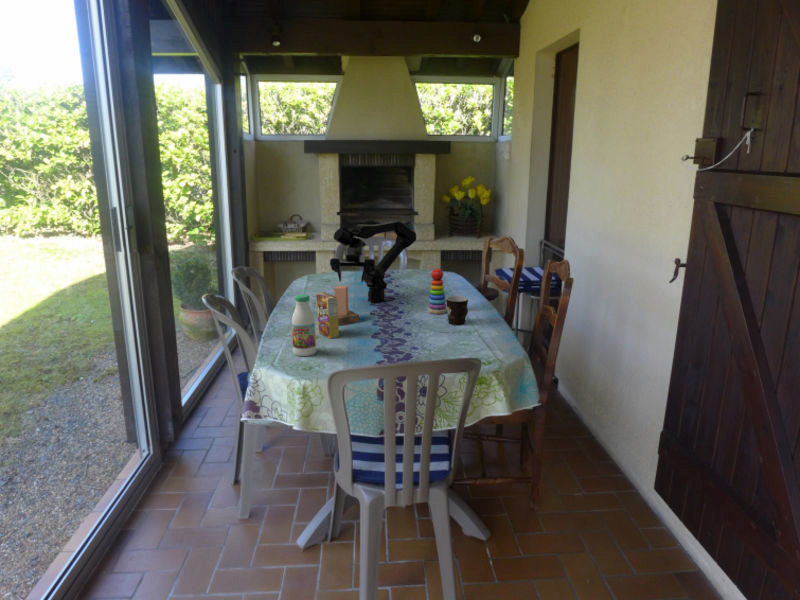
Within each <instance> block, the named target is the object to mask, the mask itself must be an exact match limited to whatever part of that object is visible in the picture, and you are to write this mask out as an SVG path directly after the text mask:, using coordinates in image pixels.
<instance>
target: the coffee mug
mask: <svg viewBox="0 0 800 600" xmlns="http://www.w3.org/2000/svg"><path fill="white" fill-rule="evenodd" d="M445 299H446V302H445V303H446V308H447V311H446V313H447V322H448V324H449V325H450V324H452V326H457V325H458V326H462V325H461V324H464V323H466V319H467V315H468V312H469V311H468V309H469V308H468V303H469V298H468V297H467V296H461V295H451V296H447V297H445ZM464 325H465V324H464Z"/></svg>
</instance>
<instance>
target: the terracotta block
mask: <svg viewBox="0 0 800 600" xmlns="http://www.w3.org/2000/svg"><path fill="white" fill-rule="evenodd" d="M334 296H335V297H337V305H338V315H347V314H348V310H349V287H348V285H335V287H334Z"/></svg>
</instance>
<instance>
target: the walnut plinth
mask: <svg viewBox="0 0 800 600" xmlns="http://www.w3.org/2000/svg"><path fill="white" fill-rule="evenodd" d="M354 322H356V323H360V315H359V313H356V312H354V311H352V310H350V309H348V314H347V315H338V327H339V325H340V326H344V325H345V326H346V325H350V323H351V324H355V323H354Z"/></svg>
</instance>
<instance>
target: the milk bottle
mask: <svg viewBox="0 0 800 600" xmlns="http://www.w3.org/2000/svg"><path fill="white" fill-rule="evenodd" d="M294 300H295V309H294V311H293V314H292V317H291V333H292V337H291V338H292V351H293V354H294V355H295V356H298V357H309V356H313V355H315V354H316V352H317V337H316V336H317V334H316V319H315V315H314V313H313V311H312V309H311V307H310V295H309V294H307V293H301V294H300V293H299V294H296V295H295V296H294Z"/></svg>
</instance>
